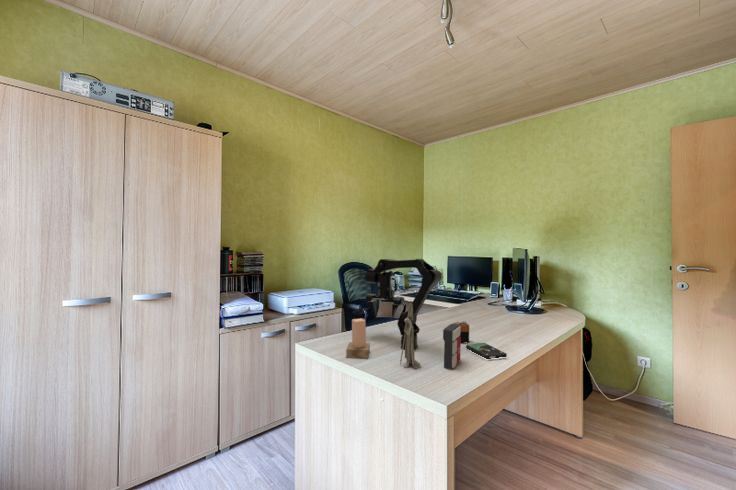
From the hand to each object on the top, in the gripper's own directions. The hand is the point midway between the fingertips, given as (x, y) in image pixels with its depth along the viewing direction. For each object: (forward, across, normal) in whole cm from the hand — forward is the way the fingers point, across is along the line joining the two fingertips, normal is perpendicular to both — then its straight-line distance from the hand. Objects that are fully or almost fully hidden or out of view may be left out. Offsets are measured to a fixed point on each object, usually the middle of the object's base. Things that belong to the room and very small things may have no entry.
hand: (384, 316), depth 150 cm
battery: (+12, -34, -17) cm, 40 cm away
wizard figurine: (+12, -20, +22) cm, 32 cm away
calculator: (+12, -35, +14) cm, 40 cm away
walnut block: (+12, +3, +22) cm, 25 cm away
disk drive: (+13, -46, -6) cm, 48 cm away
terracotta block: (+8, +3, +22) cm, 24 cm away
